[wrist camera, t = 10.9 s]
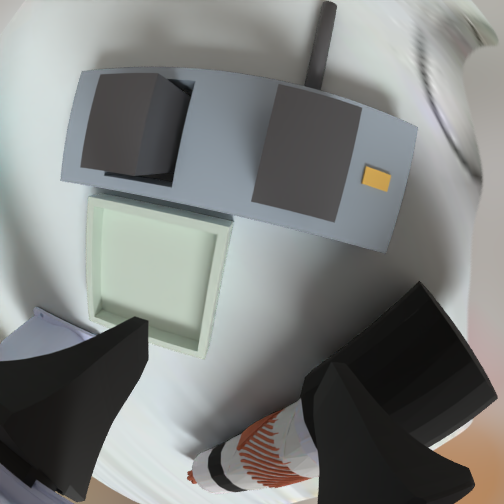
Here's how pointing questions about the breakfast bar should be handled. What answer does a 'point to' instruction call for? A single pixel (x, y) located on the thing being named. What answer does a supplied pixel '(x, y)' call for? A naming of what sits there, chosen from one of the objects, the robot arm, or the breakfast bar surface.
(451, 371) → the black white cylindrical piece
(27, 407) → the robot arm
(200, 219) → the tray
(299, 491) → the breakfast bar surface
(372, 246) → the power strip
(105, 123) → the plug
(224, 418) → the breakfast bar surface
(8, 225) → the breakfast bar surface
